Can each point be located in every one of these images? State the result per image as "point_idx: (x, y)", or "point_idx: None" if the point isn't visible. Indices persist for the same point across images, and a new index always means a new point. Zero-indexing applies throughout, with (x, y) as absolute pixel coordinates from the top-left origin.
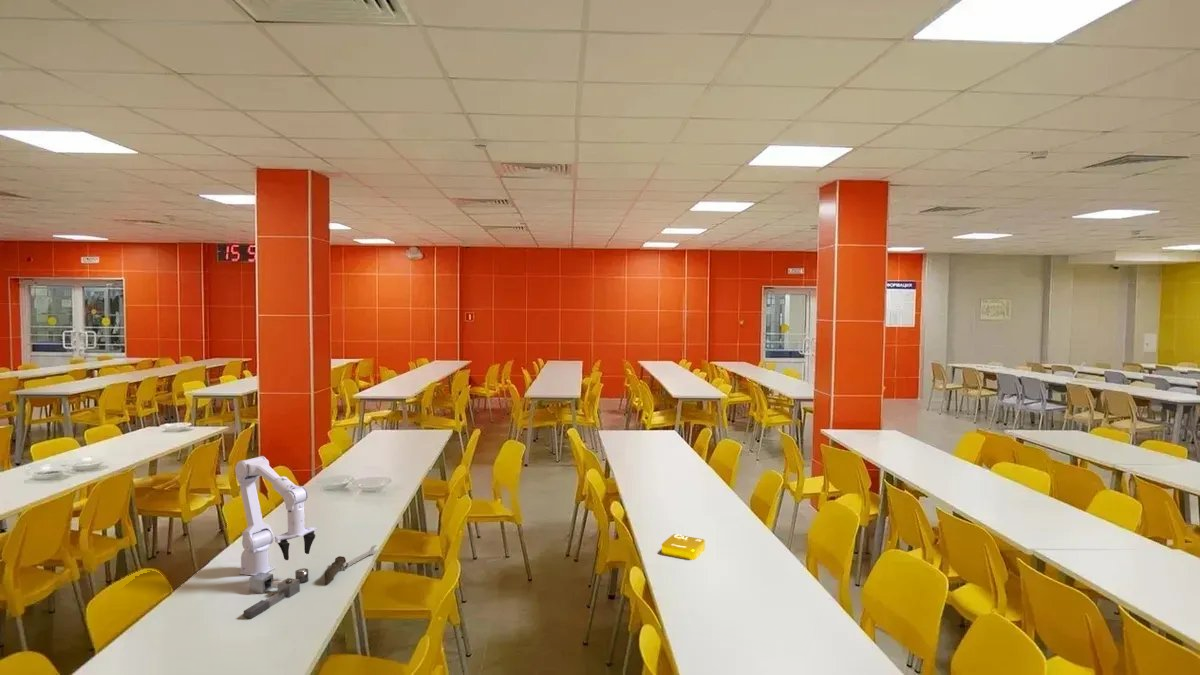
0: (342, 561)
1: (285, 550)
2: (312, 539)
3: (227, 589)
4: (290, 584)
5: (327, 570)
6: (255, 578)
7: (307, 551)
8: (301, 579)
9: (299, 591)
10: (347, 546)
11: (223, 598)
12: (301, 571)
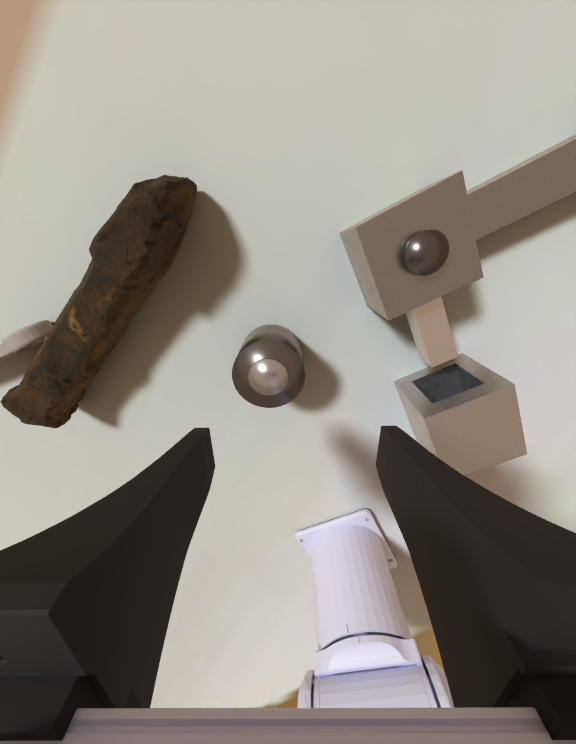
0: (27, 372)
1: (486, 492)
2: (58, 538)
3: (499, 487)
4: (447, 183)
5: (136, 241)
6: (516, 428)
7: (200, 441)
8: (285, 334)
9: (342, 231)
10: (3, 537)
11: (567, 427)
12: (276, 363)
